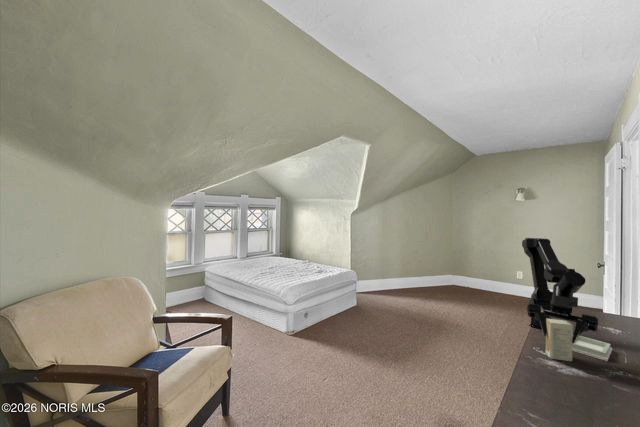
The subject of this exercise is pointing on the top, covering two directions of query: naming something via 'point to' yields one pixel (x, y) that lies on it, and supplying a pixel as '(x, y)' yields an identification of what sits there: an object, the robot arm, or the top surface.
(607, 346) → the dock
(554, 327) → the skincare box
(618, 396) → the top surface
